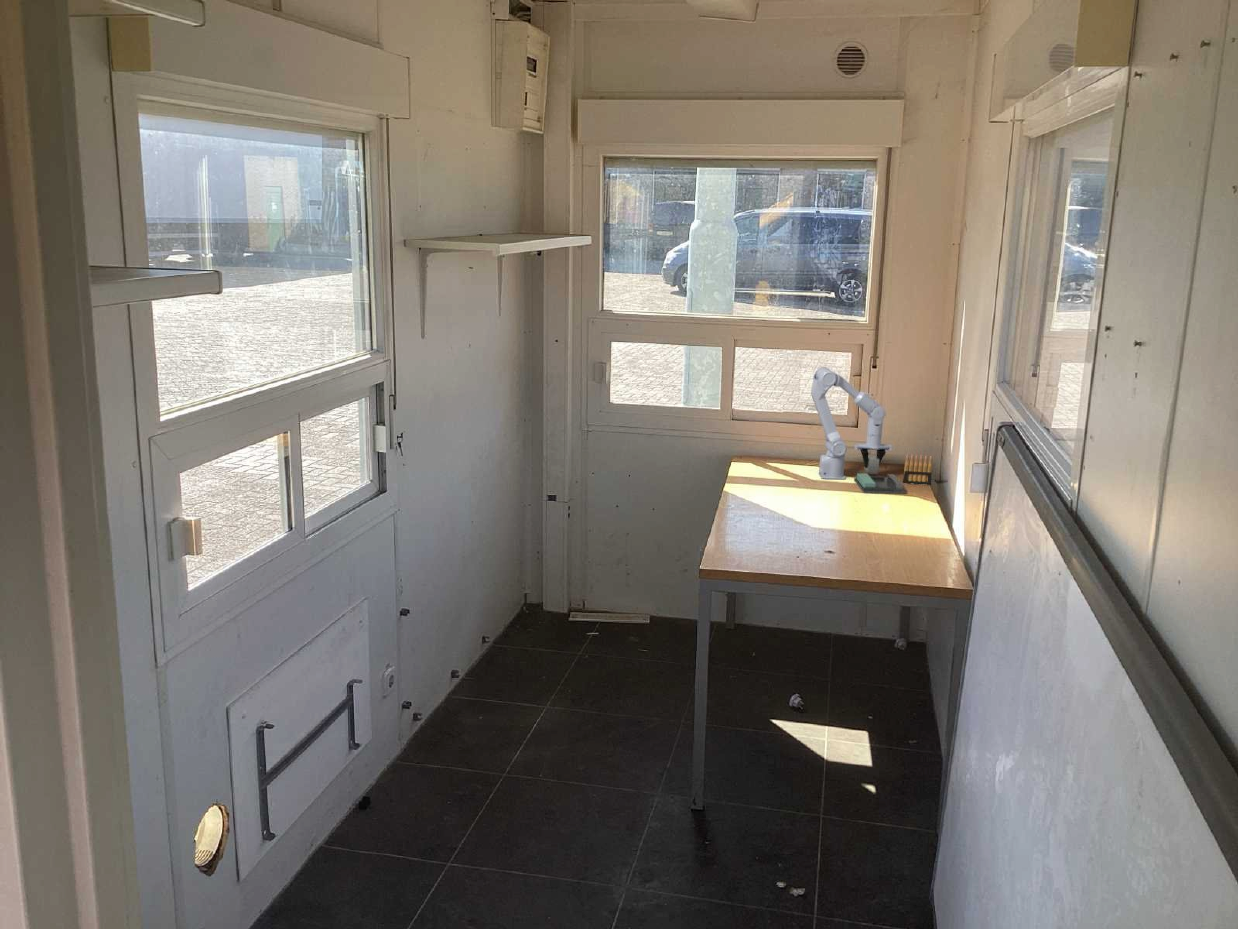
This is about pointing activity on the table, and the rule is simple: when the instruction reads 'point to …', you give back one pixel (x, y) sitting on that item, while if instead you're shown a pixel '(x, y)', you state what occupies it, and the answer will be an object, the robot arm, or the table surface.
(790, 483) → the table surface
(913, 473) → the ammunition clip
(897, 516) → the table surface
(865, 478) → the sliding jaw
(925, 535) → the table surface
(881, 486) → the vise bed
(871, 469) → the steel block
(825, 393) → the robot arm
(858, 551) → the table surface
